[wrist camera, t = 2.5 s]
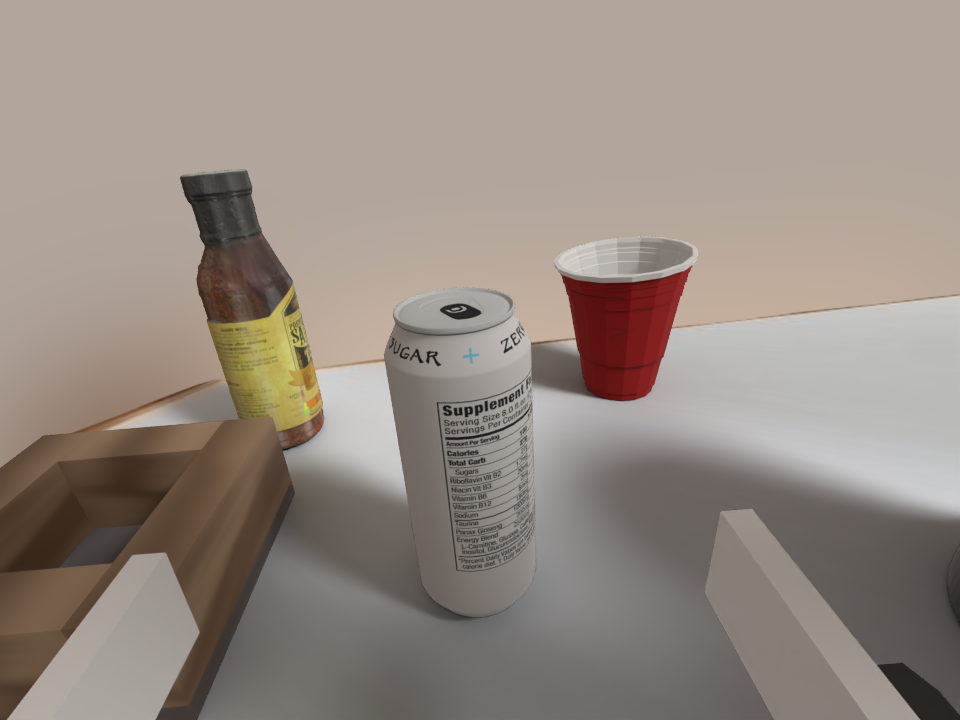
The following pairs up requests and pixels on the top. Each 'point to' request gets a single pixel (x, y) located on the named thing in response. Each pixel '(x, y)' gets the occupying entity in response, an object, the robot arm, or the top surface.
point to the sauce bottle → (252, 310)
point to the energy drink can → (466, 444)
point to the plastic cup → (624, 308)
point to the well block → (135, 537)
